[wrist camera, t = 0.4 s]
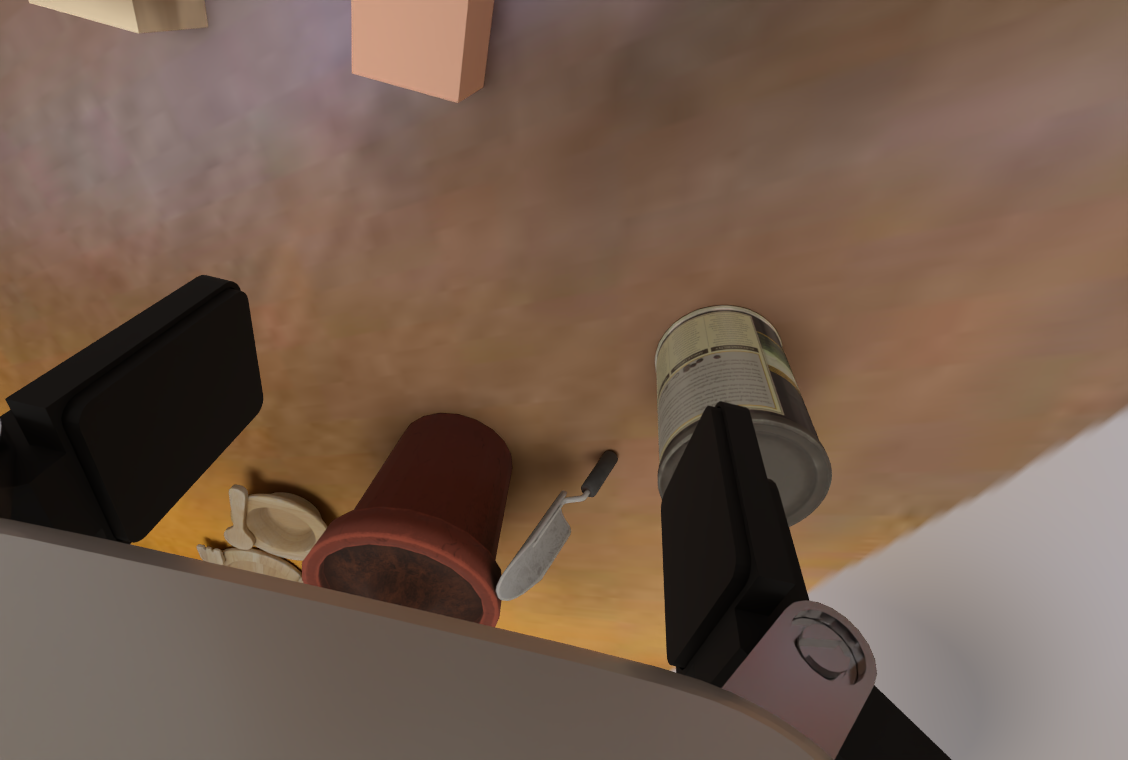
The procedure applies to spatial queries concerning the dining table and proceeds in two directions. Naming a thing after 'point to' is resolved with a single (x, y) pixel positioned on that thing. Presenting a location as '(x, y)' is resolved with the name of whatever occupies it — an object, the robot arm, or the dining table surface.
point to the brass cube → (136, 13)
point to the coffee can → (739, 399)
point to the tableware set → (268, 533)
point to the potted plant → (441, 526)
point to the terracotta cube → (423, 44)
